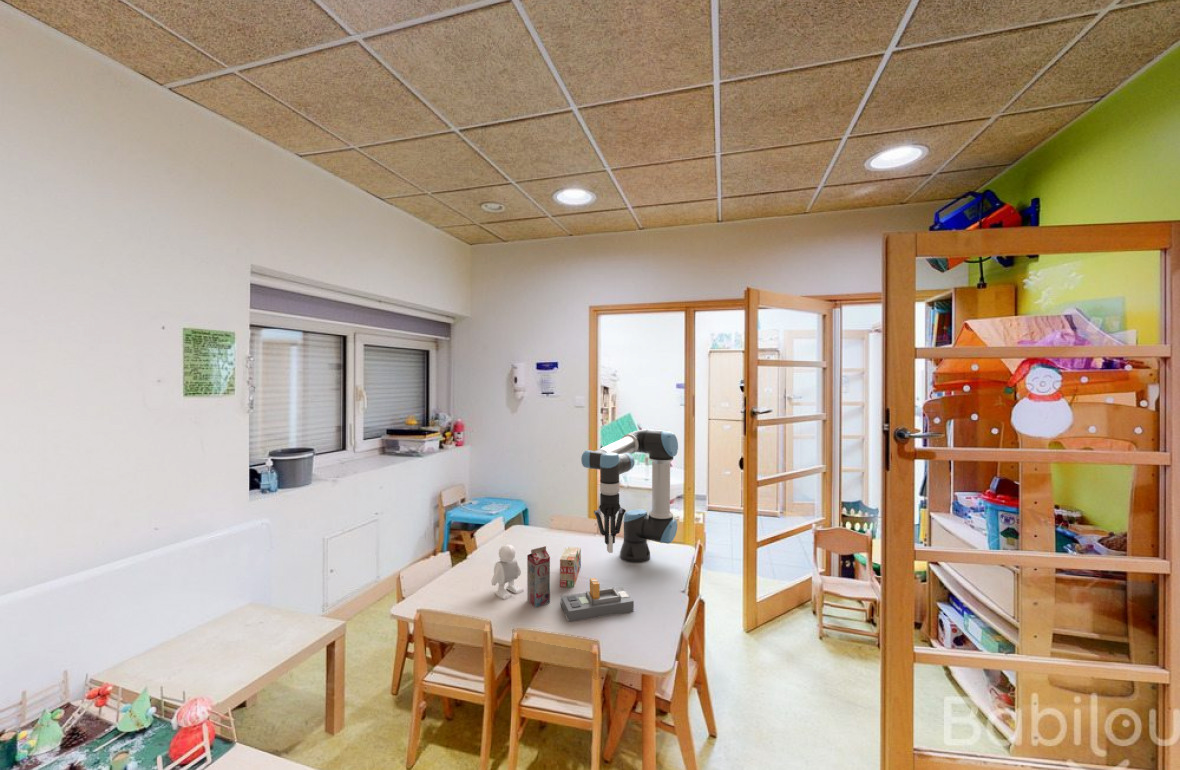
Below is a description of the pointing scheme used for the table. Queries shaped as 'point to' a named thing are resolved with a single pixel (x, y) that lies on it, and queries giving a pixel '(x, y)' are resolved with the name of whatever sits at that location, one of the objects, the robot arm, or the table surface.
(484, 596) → the table surface
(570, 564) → the stack of blocks
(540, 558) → the juice carton
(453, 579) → the table surface
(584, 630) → the table surface
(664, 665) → the table surface
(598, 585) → the breaker lever
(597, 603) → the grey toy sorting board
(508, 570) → the toy robot
